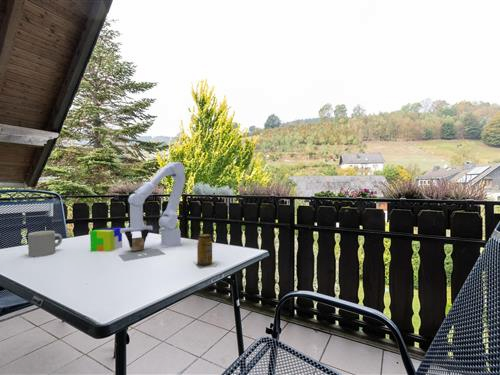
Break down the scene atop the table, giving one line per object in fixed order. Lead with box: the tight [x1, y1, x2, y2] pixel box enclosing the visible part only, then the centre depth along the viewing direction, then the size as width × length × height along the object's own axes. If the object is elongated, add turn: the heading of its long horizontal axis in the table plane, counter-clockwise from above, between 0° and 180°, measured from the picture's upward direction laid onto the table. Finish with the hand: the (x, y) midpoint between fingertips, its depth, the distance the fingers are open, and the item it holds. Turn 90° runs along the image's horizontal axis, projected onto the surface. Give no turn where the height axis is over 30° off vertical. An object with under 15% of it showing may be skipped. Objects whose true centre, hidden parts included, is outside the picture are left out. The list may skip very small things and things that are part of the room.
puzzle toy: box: [89, 227, 123, 253], centre depth 134 cm, size 10×10×10 cm
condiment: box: [193, 233, 217, 269], centre depth 111 cm, size 7×8×12 cm
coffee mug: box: [27, 230, 63, 258], centre depth 127 cm, size 13×10×10 cm
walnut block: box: [129, 236, 145, 252], centre depth 131 cm, size 5×5×5 cm
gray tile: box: [118, 248, 166, 262], centre depth 124 cm, size 18×12×1 cm, turn 127°
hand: (136, 246), depth 131 cm, fingers closed on walnut block, 5 cm apart
